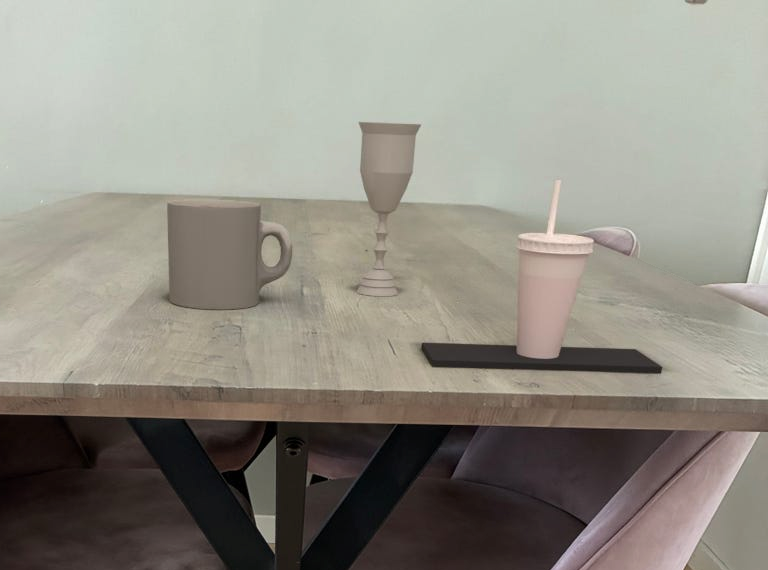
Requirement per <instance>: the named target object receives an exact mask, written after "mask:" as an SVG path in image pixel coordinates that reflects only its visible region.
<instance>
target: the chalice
mask: <svg viewBox="0 0 768 570" xmlns="http://www.w3.org/2000/svg"><path fill="white" fill-rule="evenodd" d="M358 125H359V128H360V130H361V133H362V135H361V146H360V147H361V149H360V164H359V172H360V177H361V182H362V187H363V190H364V193H365V195H366V198H367V201H368V204H369V207H370V209H371V211H373V212H375V213H376V214H377V216H378V223H377V228H376V230H375V231H374V233H375V235H376V244H375V247H373V248H372V250H373V251H374V254H375V262H374V266H372V268H373V269H370V270H367V271H366V272H365V273H364V274H363V275H362V277H363V278H362V279H361V281H360V283H359V284H360V285H359V286H358V288H357V290H356V291H355V292H356V293H357V294H360V295H364V296H371V297H372V296H373V297H393V296H397V295H399V292H398V290H397V288H396V282H395V280H394V277H395V276H393V274H392V273H391V272H389V271H387V270H386V267H385V262H384V259H385V255H386V252H388V250H389V249H388V248H387V246H386V238H387V236H388V234H389V231H388V226H387V224H388V223H387V222H388V221H387V220H388V216H389V214H392V213H394V212H396V210H397V209H398V206H399V204H400V203H401V201H402V199H403V197H404V195H405V193H406V191H407V188H408V185H409V183H410V180H411V179H412V176H413V173H414V172H413V171H414V161H415V151H416V150H415V149H416V141H417V140H416V138H417V134H418V132H419V130H420V129H421V126H422V123H421V124H420V123H403V122H402V123H401V122H378V121H377V122H376V121H375V122H374V121H372V122H371V121H358Z"/></svg>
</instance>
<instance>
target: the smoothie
mask: <svg viewBox="0 0 768 570" xmlns="http://www.w3.org/2000/svg"><path fill="white" fill-rule="evenodd" d="M562 181H563V180H562V179H554V184H553V189H552V196H551V201H550V210H549V216H548V223H547V228H546V232H525V233H520V234H518V235H517V240H516V241H517V242H516V245H515V248H516V249H518V251H519V252H518V253H519V254H518V281H517V283H518V284H517V315H516V316H517V319H516V320H517V321H516V327H517V328H516V345H517V354H519V355H522V356H525V357H530V358H540V359H550V358H556V357H558V356H559V353H560V349H561V347H563V346H562V345H563V342H564V340H565V335H566V332H567V329H568V325H569V321H570V318H571V315H572V313H573V312H572V311H573V308H574V305H575V301H576V297H577V294H578V292H579V287H580V285H581V281H582V279H583V278H582V277H583V274H584V270H585V267H586V264H587V260H588V256H589V254H590V255H591V254H592V253H594V250H593V248H594V243H595V240H594V239H593V238H591V237H588V236H582V235H578V234H577V235H576V234H566V233H554V232H555V226H556V225H555V224H556V219H557V212H558V206H559V201H560V200H559V199H560V193H561V186H562Z"/></svg>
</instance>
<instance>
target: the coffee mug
mask: <svg viewBox="0 0 768 570" xmlns="http://www.w3.org/2000/svg"><path fill="white" fill-rule="evenodd" d="M166 203H167V205H166V208H167V209H166V210H167V211H166V213H167V214H166V215H167V250H168V251H167V254H168V289H169V290H168V291H169V295H168V297H169V302H170V303H171V304H173V305H175V306H180V307H184V308H190V309H197V310H218V311H219V310H220V311H221V310H222V311H223V310H224V311H225V310H241V309H247V308H253V307H255V306H258V305H259V303H260V292H261V289H262V288H263V287H264V286H265V285H268V284H270V283H272V282H274V281H277V280H279V279H281V278H282V277H283V276H285V275H286V273H287V272H288V271H289V269H290V267H291V264H292V259H293V241H292V237H291V235H290V232H289V231H288V229H287V228H286V227H285V226H284V225H282V224H280V223H278V222H273V221H266V220H262V219H261V217H262V216H261V214H262V211H261V210H262V207H261V204H260V203H258V202H254V201H253V202H252V201H248V200H247V201H246V200H234V199H219V198H218V199H217V198H216V199H215V198H185V199H182V198H181V199H172V200H168V201H167V202H166ZM269 236H272V237H274V238H275V239H277V241H278V244H279V247H280V256H279V260H278V262H277V263H276V264H275V265H273V266H268V265H266V263H265V262H264V259H263V256H262V248H263V243H264V240H265V239H266V238H267V237H269Z"/></svg>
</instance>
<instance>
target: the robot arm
mask: <svg viewBox="0 0 768 570" xmlns="http://www.w3.org/2000/svg"><path fill="white" fill-rule="evenodd" d="M684 1H685V3H687V4H690V5H692V6H694V5H704V4H706V3H707V2H708V0H684Z"/></svg>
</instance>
